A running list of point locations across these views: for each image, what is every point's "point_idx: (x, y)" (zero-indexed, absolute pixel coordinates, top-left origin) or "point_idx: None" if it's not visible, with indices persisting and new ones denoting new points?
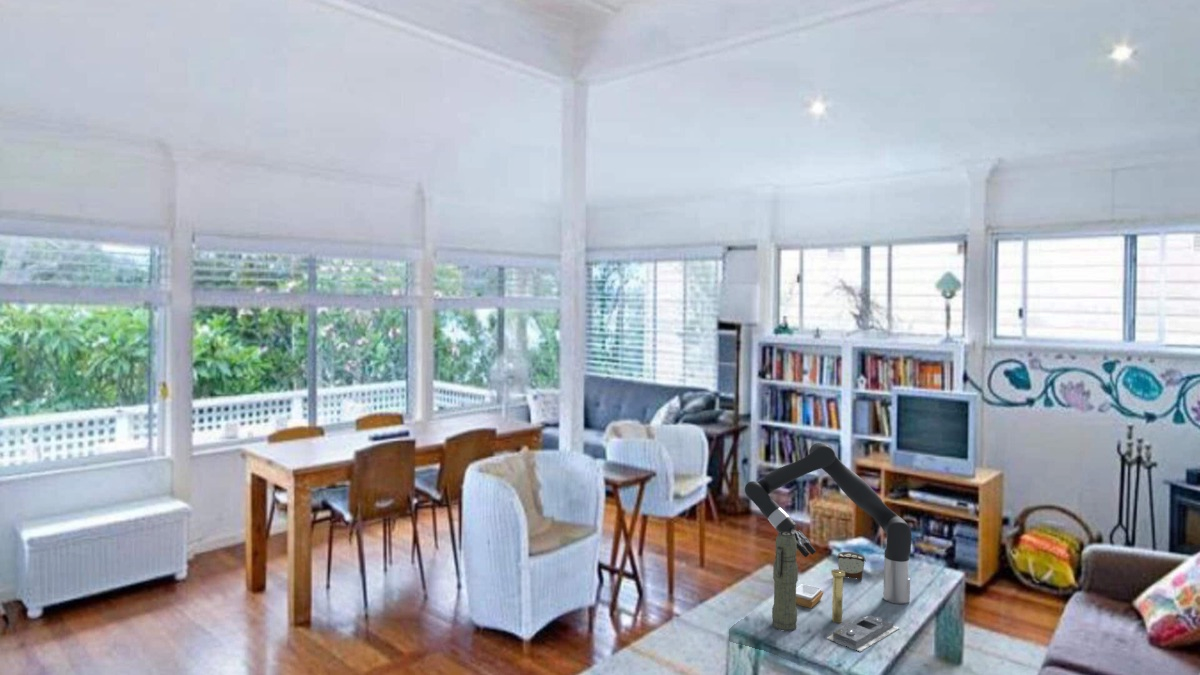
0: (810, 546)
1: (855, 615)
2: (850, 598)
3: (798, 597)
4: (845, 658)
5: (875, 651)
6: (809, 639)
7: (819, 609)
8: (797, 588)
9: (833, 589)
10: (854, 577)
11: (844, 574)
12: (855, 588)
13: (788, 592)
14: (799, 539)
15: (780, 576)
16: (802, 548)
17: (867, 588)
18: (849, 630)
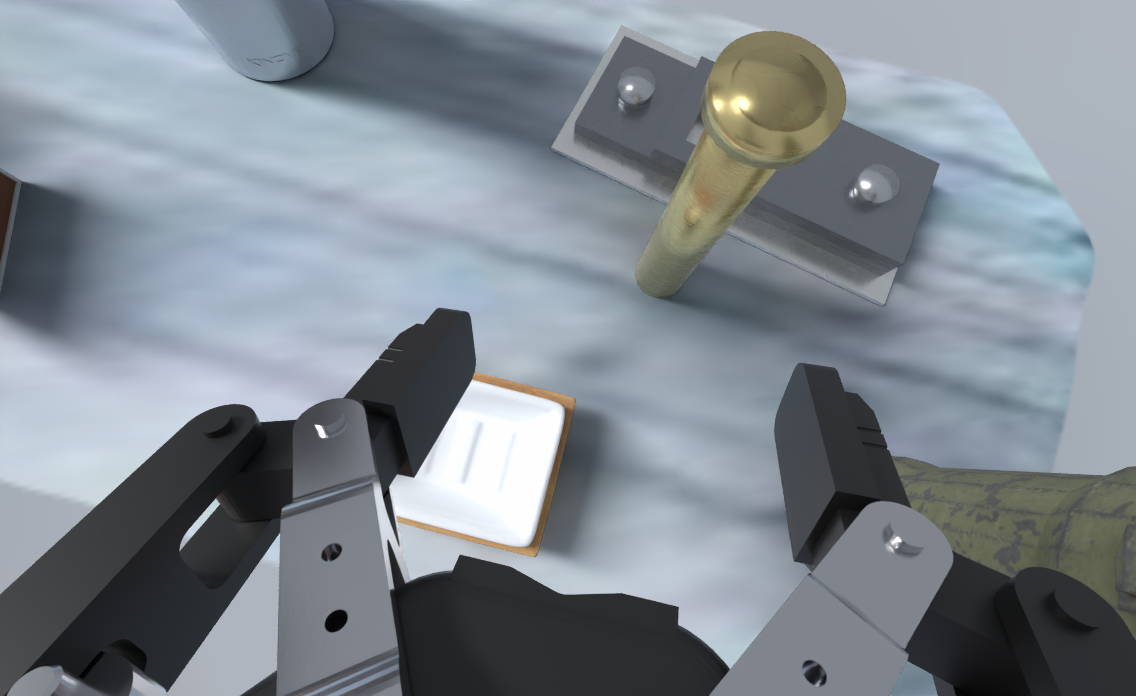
0: (422, 383)
1: (552, 198)
2: (333, 228)
3: (548, 491)
4: (1018, 220)
5: (888, 116)
6: (929, 379)
7: (549, 369)
8: (439, 515)
9: (738, 214)
10: (3, 215)
11: (793, 44)
12: (172, 209)
13: None
14: (877, 649)
15: None
16: (901, 489)
17: (155, 152)
18: (882, 187)
